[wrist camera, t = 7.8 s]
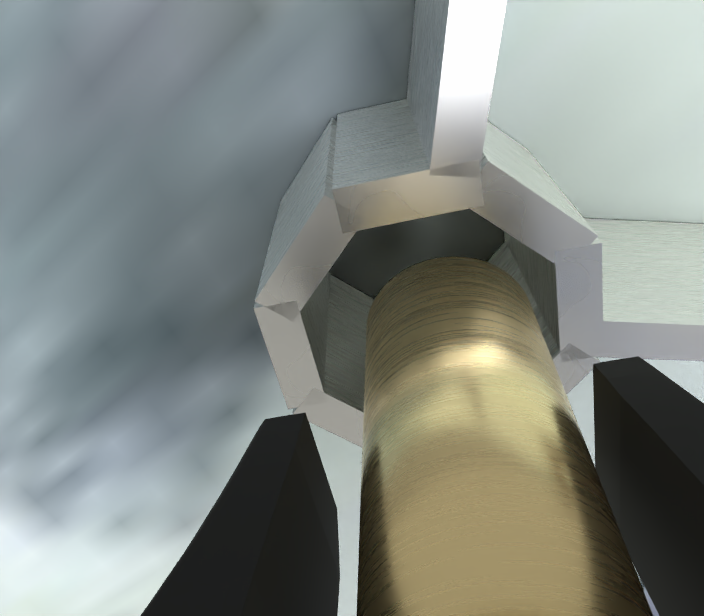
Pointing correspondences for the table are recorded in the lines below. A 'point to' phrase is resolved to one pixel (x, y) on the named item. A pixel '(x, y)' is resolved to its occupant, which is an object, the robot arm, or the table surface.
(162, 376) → the table surface
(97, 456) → the table surface
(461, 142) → the steel hinge
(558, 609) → the hinge pin
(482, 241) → the table surface
